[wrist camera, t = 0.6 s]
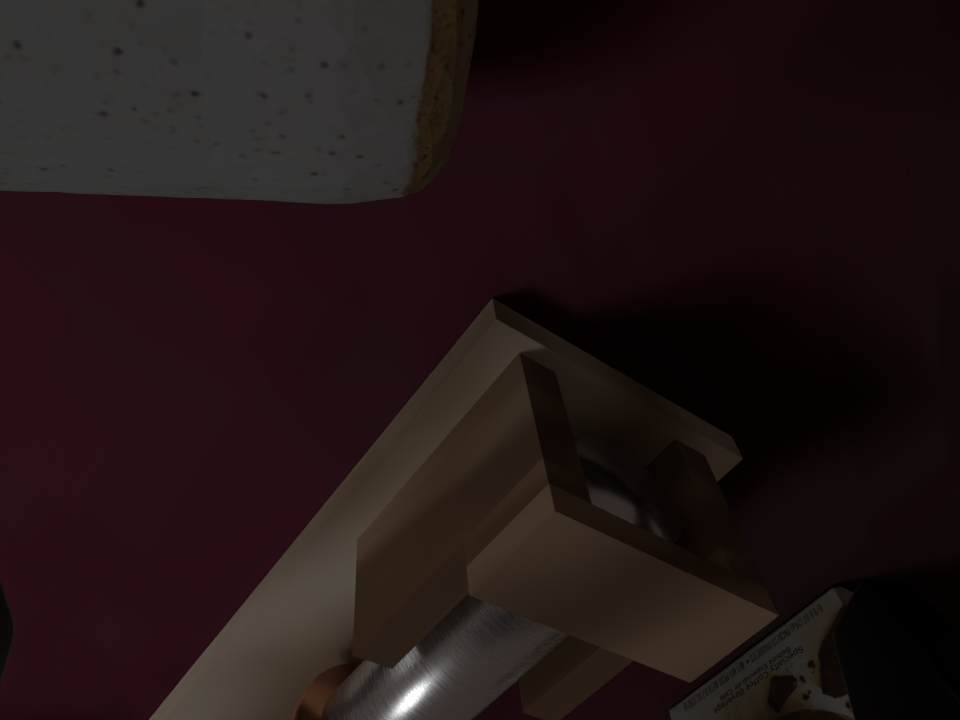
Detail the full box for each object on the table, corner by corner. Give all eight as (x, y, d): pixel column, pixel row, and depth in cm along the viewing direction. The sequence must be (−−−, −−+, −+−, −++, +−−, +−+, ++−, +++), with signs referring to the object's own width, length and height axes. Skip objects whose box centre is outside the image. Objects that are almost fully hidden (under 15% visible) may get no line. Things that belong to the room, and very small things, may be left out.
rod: (671, 460, 24) (727, 596, 20) (332, 778, 32) (324, 919, 28) (539, 389, 22) (572, 525, 18) (214, 746, 30) (188, 893, 26)
